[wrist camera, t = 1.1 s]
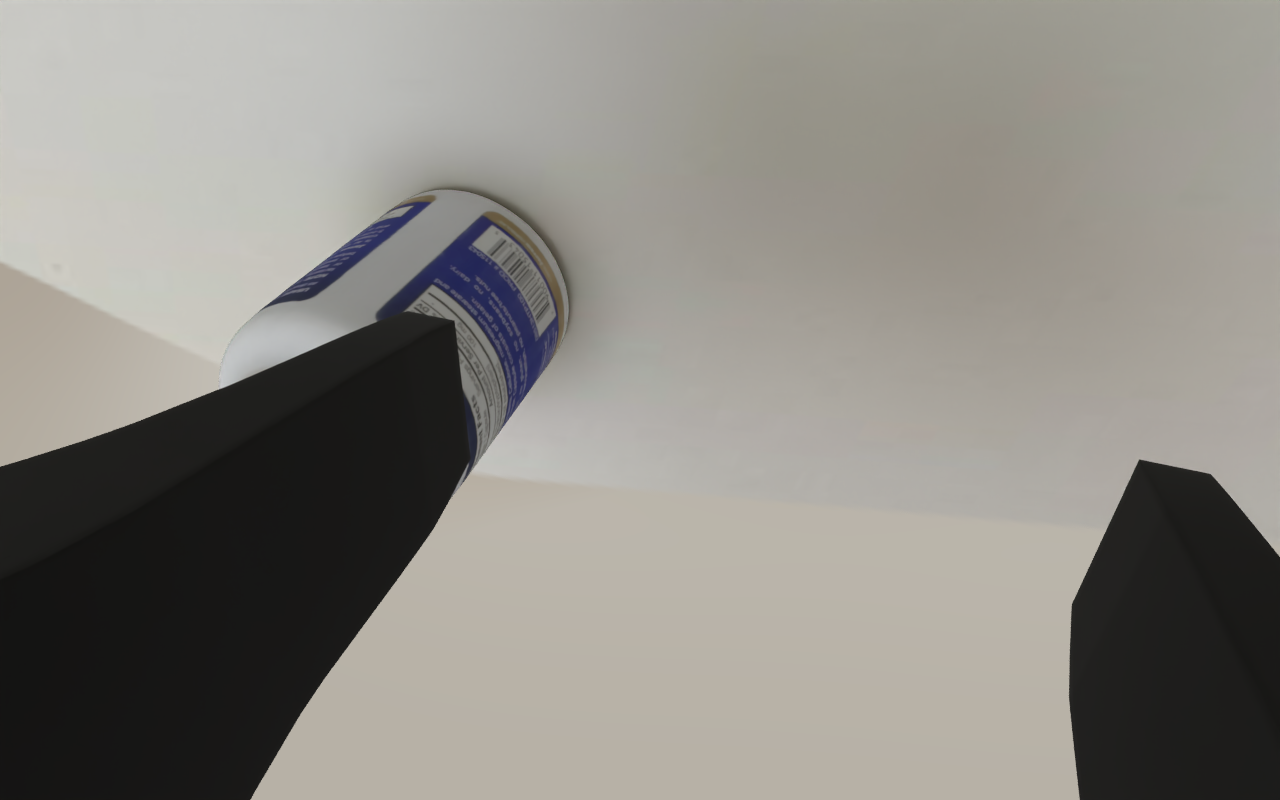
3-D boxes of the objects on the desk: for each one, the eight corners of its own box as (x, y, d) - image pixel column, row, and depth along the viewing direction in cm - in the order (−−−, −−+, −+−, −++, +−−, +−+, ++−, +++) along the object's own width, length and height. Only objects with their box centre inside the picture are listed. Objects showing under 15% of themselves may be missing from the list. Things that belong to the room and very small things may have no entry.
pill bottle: (393, 347, 25) (158, 577, 18) (371, 165, 21) (74, 361, 15) (573, 394, 23) (396, 659, 17) (578, 209, 20) (363, 443, 13)
